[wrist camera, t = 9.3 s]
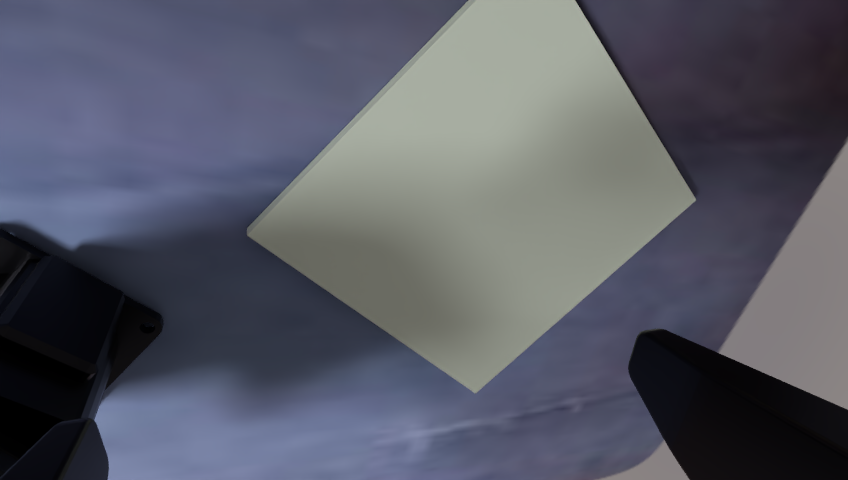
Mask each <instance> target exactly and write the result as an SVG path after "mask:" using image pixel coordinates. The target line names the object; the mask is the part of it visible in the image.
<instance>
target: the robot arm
mask: <svg viewBox="0 0 848 480" xmlns="http://www.w3.org/2000/svg"><path fill="white" fill-rule="evenodd" d="M147 322H149V323H152V324H153V325H154V326H153V327H146V326H144V325H143V323H147ZM163 324H164V320H163V318H162V316H161V315H160V314H159V313H157V312H155V311H153V310H151V309H150V308H148V307H146V306H144V305H142V304H140V303H138V302H137V301H135V300H133V299H131V298H129V297H127V296H125V295H124V294H123V293H122V291H120V290H118V289H116V288H114V287H113V286H111V285H109V284H107V283H105V282H103V281H101V280H100V279H98V278H96V277H94V276H92V275H90V274H88V273H87V272H85V271H83V270H81V269H79V268H77V267H75V266H74V265H72V264H70V263H68V262H66V261H64V260H63V259H61V258H59V257H57V256H51V255H49V254H47V253H45V252H43V251H42V250H40V249H38V248H36V247H34V246H32V245H30V244H29V243H27V242H25V241H23V240H21V239H19V238H17V237H16V236H14V235H12V234H10V233H8V232H6V231H4V230H2V229H0V480H108V471H109V464H108V457H107V453H106V450H105V447H104V445H103V442H102V439H101V436H100V433H99V430H98V427H97V424H96V422H95V421H94V419H95V416H96V414H97V411H98V408H99V405H100V402H101V399H102V396H103V393H104V391H105V390H106V389H107V387H108V386H109V385H110V384H111V383H112V382H113V381H114V380H115V379H116V378H117V377H118V376H119V375H120V374H121V373H122V372H123V371H124V370H125V369H126V368H127V367H128V366H129V365H130V364H131V363H132V362H133V361H134V360H135V359H136V358H137V357H138V356H139V355H140V354H141V353H142V352H143V351H144V350H145V349H146V348H147V347H148V346H149V345H150V344H151V343H152V342H153V340H154V339H155V338H156V337H157V336H158V335H159V334H160V333H161V331H162V328H163ZM628 370H629V375H630V378H631V380H632V382H633V383H634V385H635V387H636V389H637V391H638V393H639V394H640V396H641V398H642V400H643V402H644V404H645V405H646V407H647V409H648V411H649V413H650V415H651V416H652V418H653V420H654V422H655V424H656V426H657V427H658V429H659V431H660V433H661V435H662V437H663V438H664V440H665V442H666V443H667V445H668V447H669V449H670V450H671V452H672V453H673V455H674V457H675V458H676V460H677V461H678V463H679V464H680V466H681V467H682V469H683V470H684V472H685V473H686V475H687V476H688V478H689V479H690V480H848V410H847V409H845V408H842V407H840V406H838V405H835V404H833V403H831V402H829V401H826V400H824V399H822V398H820V397H817V396H815V395H813V394H810V393H808V392H806V391H804V390H801V389H799V388H797V387H794V386H792V385H790V384H788V383H785V382H783V381H781V380H778V379H776V378H774V377H772V376H769V375H767V374H765V373H762V372H760V371H758V370H756V369H753V368H751V367H749V366H747V365H744V364H742V363H740V362H737V361H735V360H733V359H731V358H728V357H726V356H724V355H721V354H719V353H717V352H715V351H712V350H710V349H708V348H705V347H703V346H701V345H699V344H696V343H694V342H692V341H689V340H687V339H685V338H683V337H680V336H678V335H676V334H673V333H671V332H669V331H667V330H664V329H652V330H645V331H642V332H640V333H639V335H638V336H637V338H636V341H635V345H634V348H633V351H632V354H631V357H630V361H629V364H628Z"/></svg>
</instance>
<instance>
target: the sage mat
mask: <svg viewBox="0 0 848 480" xmlns="http://www.w3.org/2000/svg"><path fill="white" fill-rule="evenodd" d="M695 201H696V199H695V197H694V195H693V194H692V192H691V190H690V189H689V187H688V186H687V184H686V182H685V181H684V179H683V177H682V176H681V174H680V172H679V171H678V169H677V167H676V166H675V164H674V162H673V161H672V159H671V157H670V156H669V154H668V153H667V151H666V149H665V148H664V146H663V144H662V143H661V141H660V139H659V138H658V136H657V134H656V133H655V131H654V129H653V128H652V126H651V125H650V123H649V121H648V120H647V118H646V116H645V115H644V113H643V111H642V110H641V108H640V106H639V105H638V103H637V101H636V100H635V98H634V96H633V95H632V93H631V92H630V90H629V88H628V87H627V85H626V83H625V82H624V80H623V78H622V77H621V75H620V73H619V72H618V70H617V68H616V67H615V65H614V63H613V62H612V60H611V59H610V57H609V55H608V54H607V52H606V50H605V49H604V47H603V45H602V44H601V42H600V40H599V39H598V37H597V35H596V34H595V32H594V31H593V29H592V27H591V26H590V24H589V22H588V21H587V19H586V17H585V16H584V14H583V12H582V11H581V9H580V7H579V6H578V4H577V2H576V1H575V0H468V1H467V2H466V3H465V4H464V5H463V6H462V7H461V8H460V9H459V10H458V12H457V13H456V14H455V15H454V16H453V17H452V18H451V19H450V20H449V21H448V22H447V23H446V24H445V25H444V26H443V27H442V28H441V29H440V30H439V31H438V32H437V33H436V34H435V35H434V36H433V37H432V38H431V39H430V40H429V41H428V42H427V43H426V44H425V45H424V46H423V48H422V49H421V50H420V51H419V52H418V53H417V54H416V55H415V56H414V57H413V58H412V59H411V60H410V61H409V62H408V63H407V64H406V65H405V66H404V67H403V68H402V69H401V70H400V71H399V72H398V73H397V74H396V75H395V76H394V77H393V78H392V79H391V80H390V81H389V83H388V84H387V85H386V86H385V87H384V88H383V89H382V90H381V91H380V92H379V93H378V94H377V95H376V96H375V97H374V98H373V99H372V100H371V101H370V102H369V103H368V104H367V105H366V106H365V107H364V108H363V109H362V110H361V111H360V112H359V113H358V114H357V115H356V116H355V117H354V119H353V120H352V121H351V122H350V123H349V124H348V125H347V126H346V127H345V128H344V129H343V130H342V131H341V132H340V133H339V134H338V135H337V136H336V137H335V138H334V139H333V140H332V141H331V142H330V143H329V144H328V145H327V146H326V147H325V148H324V149H323V150H322V151H321V152H320V153H319V155H318V156H317V157H316V158H315V159H314V160H313V161H312V162H311V163H310V164H309V165H308V166H307V167H306V168H305V169H304V170H303V171H302V172H301V173H300V174H299V175H298V176H297V177H296V178H295V179H294V180H293V181H292V182H291V183H290V184H289V185H288V186H287V187H286V188H285V189H284V191H283V192H282V193H281V194H280V195H279V196H278V197H277V198H276V199H275V200H274V201H273V202H272V203H271V204H270V205H269V206H268V207H267V208H266V209H265V210H264V211H263V212H262V213H261V214H260V215H259V216H258V217H257V218H256V219H255V220H254V221H253V222H252V223H251V224H250V225H249V227H248V228H247V236H248V237H250V238H251V239H253V240H254V241H256V242H257V243H259V244H260V245H261V246H263V247H264V248H266V249H267V250H269V251H270V252H272V253H273V254H274V255H276V256H277V257H279V258H280V259H282V260H283V261H285V262H286V263H287V264H289V265H290V266H292V267H293V268H295V269H296V270H298V271H299V272H300V273H302V274H303V275H305V276H306V277H308V278H309V279H311V280H312V281H313V282H315V283H316V284H318V285H319V286H321V287H322V288H324V289H325V290H327V291H328V292H329V293H331V294H332V295H334V296H335V297H337V298H338V299H340V300H341V301H342V302H344V303H345V304H347V305H348V306H350V307H351V308H353V309H354V310H355V311H357V312H358V313H360V314H361V315H363V316H364V317H366V318H367V319H368V320H370V321H371V322H373V323H374V324H376V325H377V326H379V327H380V328H381V329H383V330H384V331H386V332H387V333H389V334H390V335H392V336H393V337H394V338H396V339H397V340H399V341H400V342H402V343H403V344H405V345H406V346H407V347H409V348H410V349H412V350H413V351H415V352H416V353H418V354H419V355H421V356H422V357H423V358H425V359H426V360H428V361H429V362H431V363H432V364H434V365H435V366H436V367H438V368H439V369H441V370H442V371H444V372H445V373H447V374H448V375H449V376H451V377H452V378H454V379H455V380H457V381H458V382H460V383H461V384H462V385H464V386H465V387H467V388H468V389H470V390H471V391H473V392H474V393H475V394H476V393H477V392H478V391H479V390H480V389H481V388H482V387H484V386H485V385H486V384H487V383H488V382H489V381H490V380H492V379H493V378H494V377H495V376H496V375H497V374H498V373H500V372H501V371H502V370H503V369H504V368H505V367H506V366H507V365H509V364H510V363H511V362H512V361H513V360H514V359H515V358H517V357H518V356H519V355H520V354H521V353H522V352H523V351H525V350H526V349H527V348H528V347H529V346H530V345H531V344H533V343H534V342H535V341H536V340H537V339H538V338H539V337H541V336H542V335H543V334H544V333H545V332H546V331H547V330H549V329H550V328H551V327H552V326H553V325H554V324H555V323H557V322H558V321H559V320H560V319H561V318H562V317H563V316H565V315H566V314H567V313H568V312H569V311H570V310H571V309H573V308H574V307H575V306H576V305H577V304H578V303H579V302H581V301H582V300H583V299H584V298H585V297H586V296H587V295H589V294H590V293H591V292H592V291H593V290H594V289H595V288H596V287H598V286H599V285H600V284H601V283H602V282H603V281H604V280H606V279H607V278H608V277H609V276H610V275H611V274H612V273H614V272H615V271H616V270H617V269H618V268H619V267H620V266H622V265H623V264H624V263H625V262H626V261H627V260H628V259H630V258H631V257H632V256H633V255H634V254H635V253H636V252H638V251H639V250H640V249H641V248H642V247H643V246H644V245H646V244H647V243H648V242H649V241H650V240H651V239H652V238H654V237H655V236H656V235H657V234H658V233H659V232H660V231H662V230H663V229H664V228H665V227H666V226H667V225H668V224H670V223H671V222H672V221H673V220H674V219H675V218H676V217H677V216H679V215H680V214H681V213H682V212H683V211H684V210H685V209H687V208H688V207H689V206H690V205H691V204H692V203H693V202H695Z"/></svg>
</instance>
